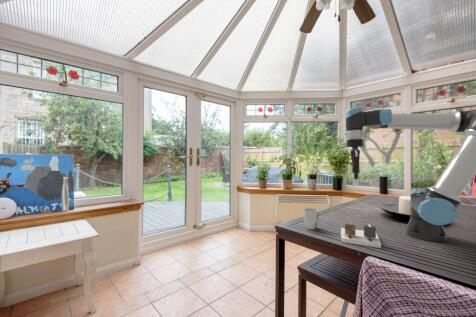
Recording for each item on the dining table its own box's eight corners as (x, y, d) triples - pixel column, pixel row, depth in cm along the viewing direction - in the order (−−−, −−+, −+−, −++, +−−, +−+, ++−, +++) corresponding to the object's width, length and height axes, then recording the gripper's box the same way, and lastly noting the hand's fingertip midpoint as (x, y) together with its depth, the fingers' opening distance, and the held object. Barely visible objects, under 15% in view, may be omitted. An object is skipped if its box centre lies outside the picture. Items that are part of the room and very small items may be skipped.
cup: (319, 230, 115) (319, 212, 115) (304, 229, 116) (304, 211, 116) (317, 225, 123) (317, 208, 122) (302, 225, 124) (302, 207, 124)
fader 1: (355, 233, 102) (355, 222, 102) (355, 235, 99) (355, 224, 99) (344, 232, 104) (344, 221, 104) (344, 234, 101) (344, 223, 101)
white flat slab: (375, 236, 106) (375, 231, 106) (381, 248, 93) (381, 242, 93) (341, 231, 113) (341, 227, 113) (341, 242, 99) (341, 237, 99)
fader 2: (374, 235, 99) (374, 225, 99) (375, 238, 96) (375, 227, 96) (363, 234, 101) (363, 223, 101) (364, 236, 98) (364, 225, 98)
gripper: (345, 140, 116) (347, 183, 116) (347, 138, 104) (348, 186, 104) (361, 139, 113) (362, 183, 113) (365, 137, 101) (366, 187, 101)
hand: (356, 185), depth 109 cm, fingers closed
